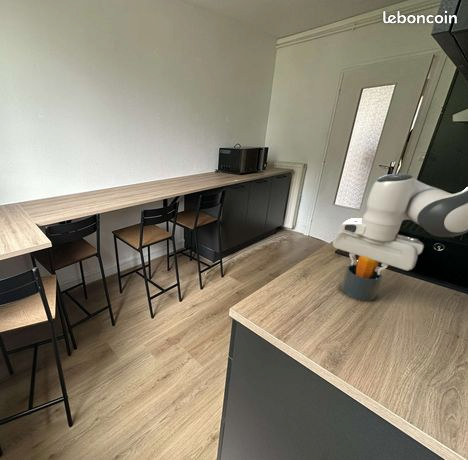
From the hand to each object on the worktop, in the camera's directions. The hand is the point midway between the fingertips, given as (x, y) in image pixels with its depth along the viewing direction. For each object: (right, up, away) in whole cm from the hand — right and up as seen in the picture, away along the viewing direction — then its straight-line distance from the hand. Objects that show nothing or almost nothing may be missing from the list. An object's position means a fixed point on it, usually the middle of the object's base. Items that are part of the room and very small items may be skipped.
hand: (365, 269), depth 80 cm
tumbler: (0, -8, +4) cm, 9 cm away
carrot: (0, -6, +2) cm, 6 cm away
